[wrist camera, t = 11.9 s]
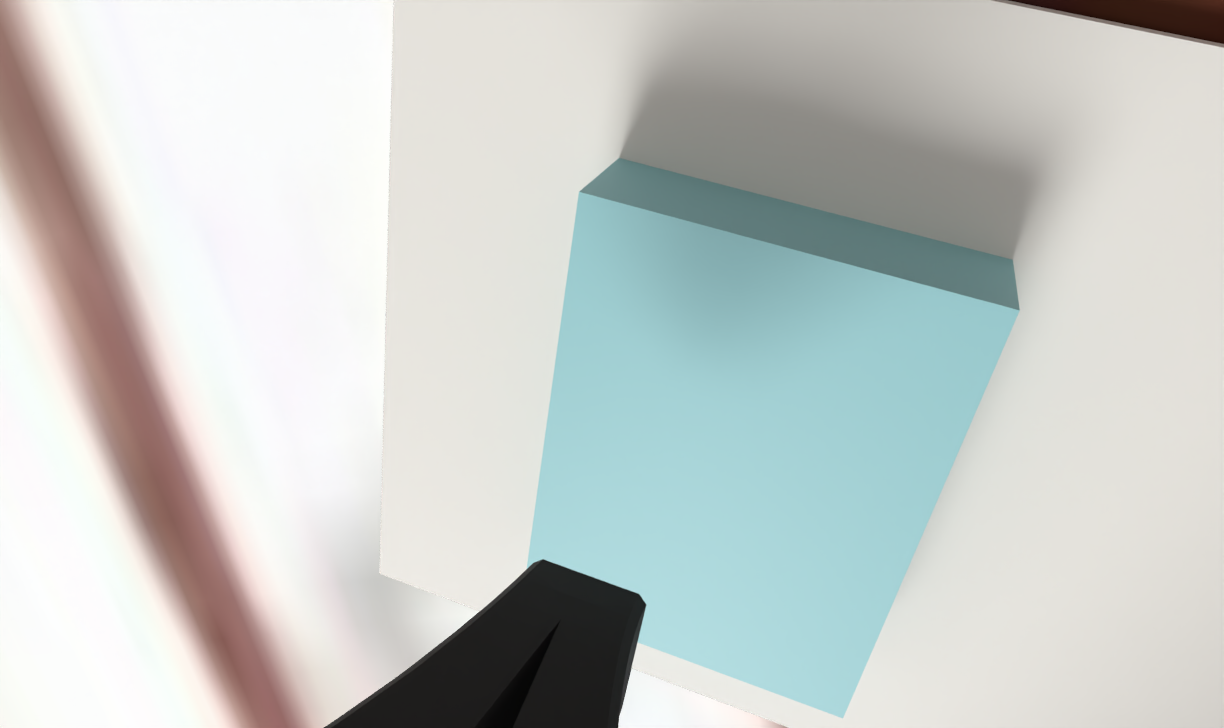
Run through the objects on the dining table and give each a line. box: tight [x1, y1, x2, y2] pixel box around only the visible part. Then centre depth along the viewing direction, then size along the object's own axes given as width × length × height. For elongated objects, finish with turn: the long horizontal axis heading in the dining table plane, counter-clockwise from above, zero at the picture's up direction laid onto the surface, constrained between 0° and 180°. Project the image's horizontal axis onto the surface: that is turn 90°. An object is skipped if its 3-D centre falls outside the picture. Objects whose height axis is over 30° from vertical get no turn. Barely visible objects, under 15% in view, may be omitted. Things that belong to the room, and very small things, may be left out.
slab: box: [527, 158, 1020, 718], centre depth 15 cm, size 8×2×6 cm
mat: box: [379, 0, 1224, 728], centre depth 15 cm, size 14×18×1 cm
